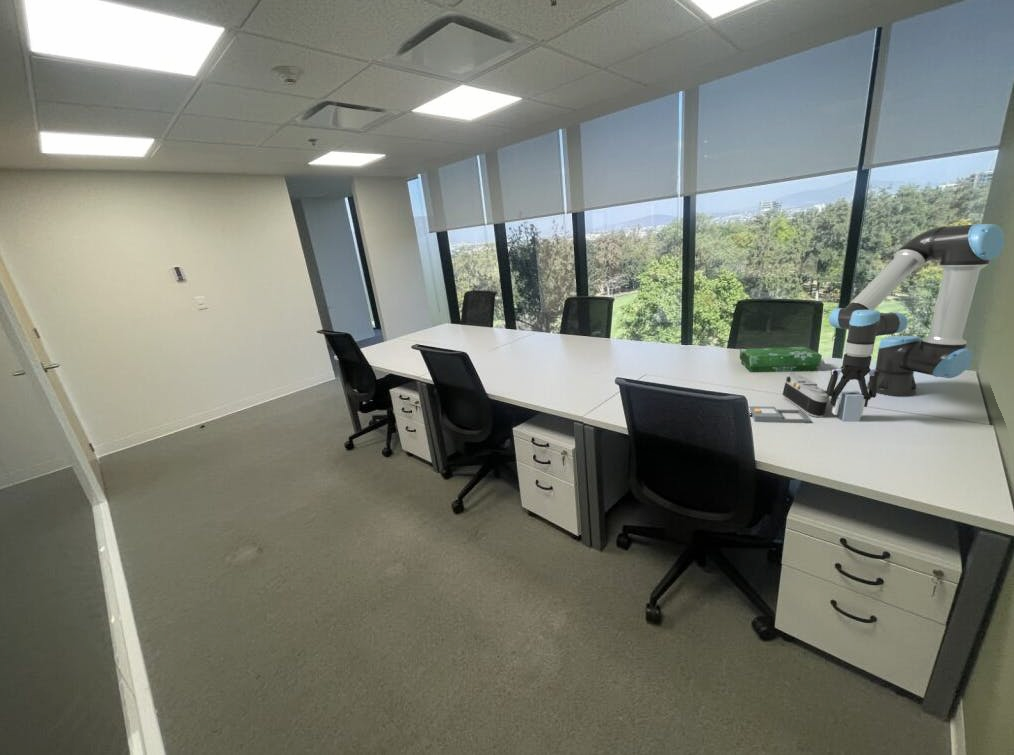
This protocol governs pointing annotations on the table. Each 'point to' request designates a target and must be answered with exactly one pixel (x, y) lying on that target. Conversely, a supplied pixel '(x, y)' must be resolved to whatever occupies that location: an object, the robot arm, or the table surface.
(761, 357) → the box
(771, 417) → the grey rectangular base
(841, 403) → the block
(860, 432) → the table surface
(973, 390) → the table surface
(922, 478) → the table surface
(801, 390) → the camera
